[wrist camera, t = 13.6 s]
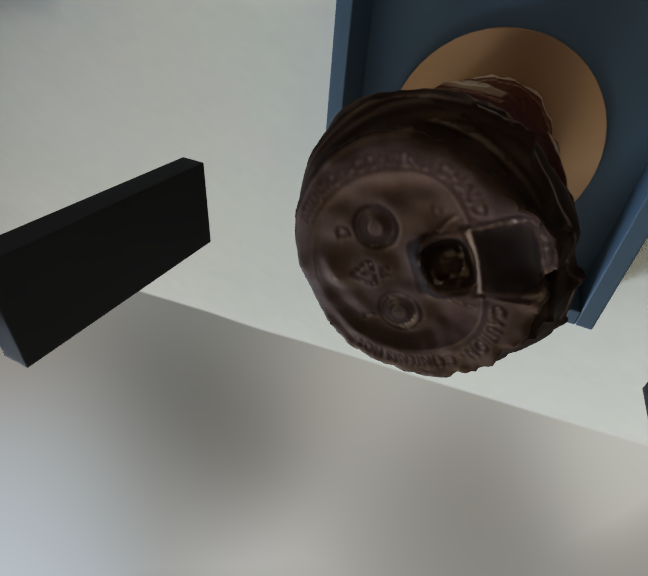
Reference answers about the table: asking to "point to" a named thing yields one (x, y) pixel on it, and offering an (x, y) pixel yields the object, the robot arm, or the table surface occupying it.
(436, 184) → the coffee cup
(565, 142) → the coaster
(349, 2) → the tray
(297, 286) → the table surface
